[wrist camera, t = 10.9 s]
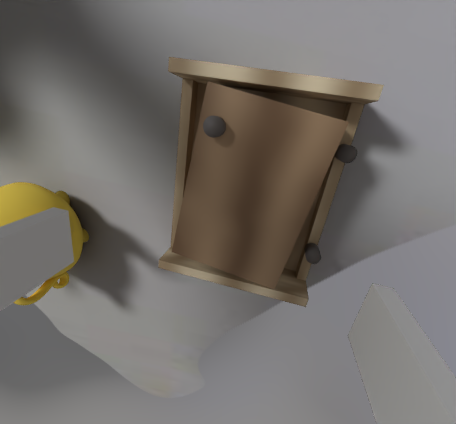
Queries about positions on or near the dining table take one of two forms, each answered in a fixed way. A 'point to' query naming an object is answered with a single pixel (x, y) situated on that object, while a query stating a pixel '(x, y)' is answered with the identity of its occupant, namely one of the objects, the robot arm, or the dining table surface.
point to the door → (252, 182)
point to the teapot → (34, 203)
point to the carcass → (285, 93)
